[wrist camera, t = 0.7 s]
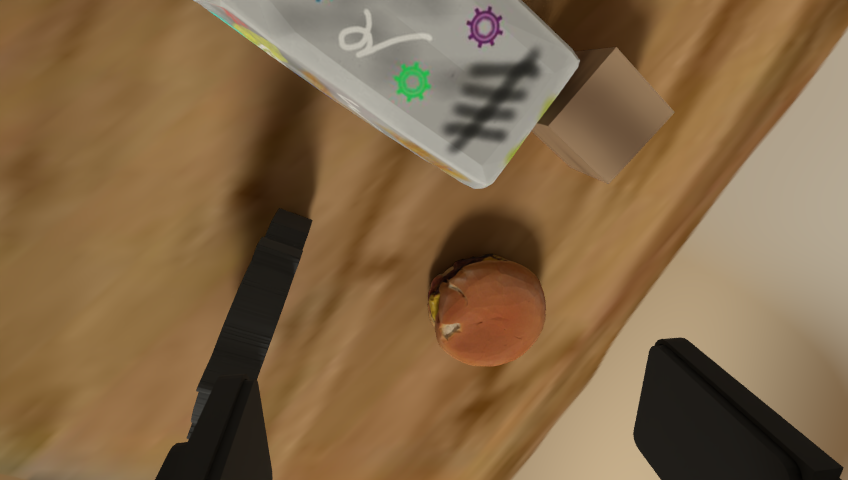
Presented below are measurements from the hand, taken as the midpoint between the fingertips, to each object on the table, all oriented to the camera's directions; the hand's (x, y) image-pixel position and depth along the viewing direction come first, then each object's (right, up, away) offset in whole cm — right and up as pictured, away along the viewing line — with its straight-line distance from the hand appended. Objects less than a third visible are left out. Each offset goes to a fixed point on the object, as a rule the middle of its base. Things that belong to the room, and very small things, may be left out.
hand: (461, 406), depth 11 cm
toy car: (-5, +19, +20) cm, 28 cm away
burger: (+4, -1, +29) cm, 29 cm away
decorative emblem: (-13, +1, +25) cm, 28 cm away
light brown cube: (+10, +14, +24) cm, 29 cm away
